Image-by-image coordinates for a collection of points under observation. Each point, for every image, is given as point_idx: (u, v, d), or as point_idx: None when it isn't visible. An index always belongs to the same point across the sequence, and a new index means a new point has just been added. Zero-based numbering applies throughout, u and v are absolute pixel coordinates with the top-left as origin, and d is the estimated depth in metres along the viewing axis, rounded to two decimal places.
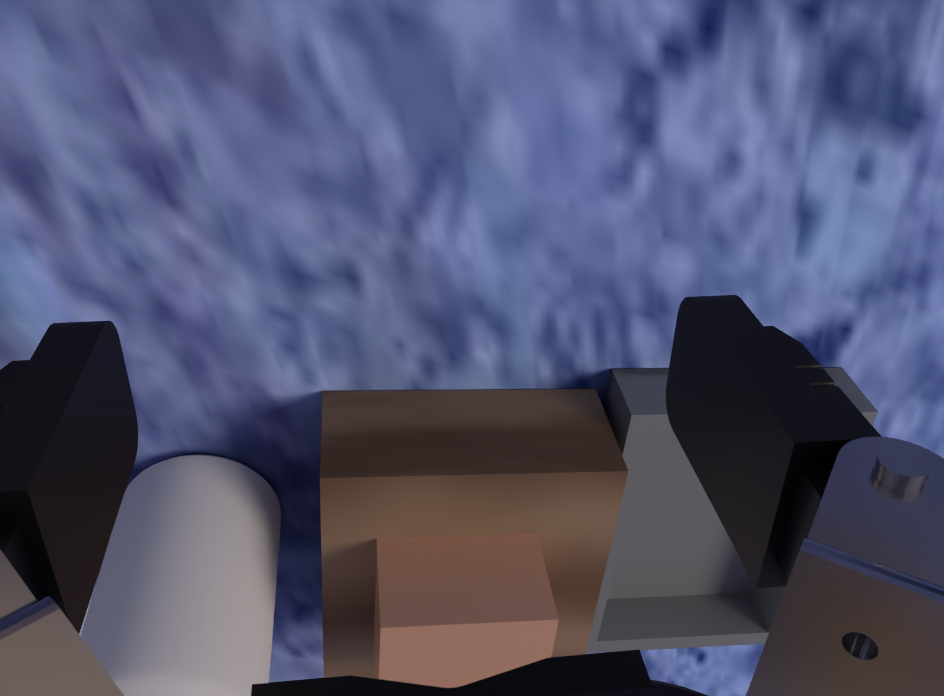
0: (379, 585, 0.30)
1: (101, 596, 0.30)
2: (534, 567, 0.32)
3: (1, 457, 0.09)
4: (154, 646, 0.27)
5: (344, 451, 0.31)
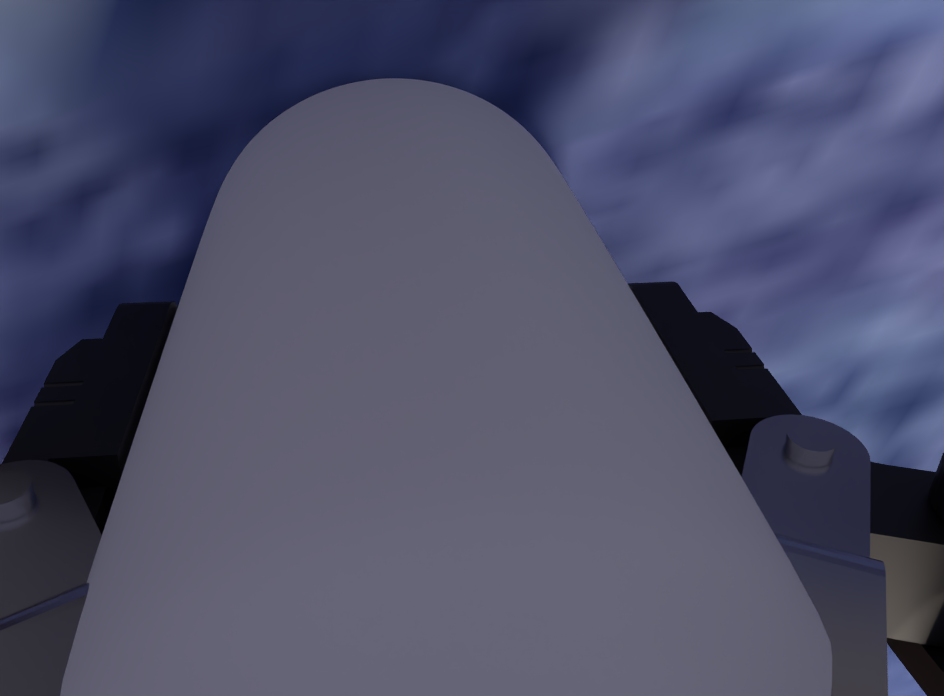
0: None
1: (626, 302, 0.09)
2: None
3: (89, 426, 0.09)
4: None
5: None
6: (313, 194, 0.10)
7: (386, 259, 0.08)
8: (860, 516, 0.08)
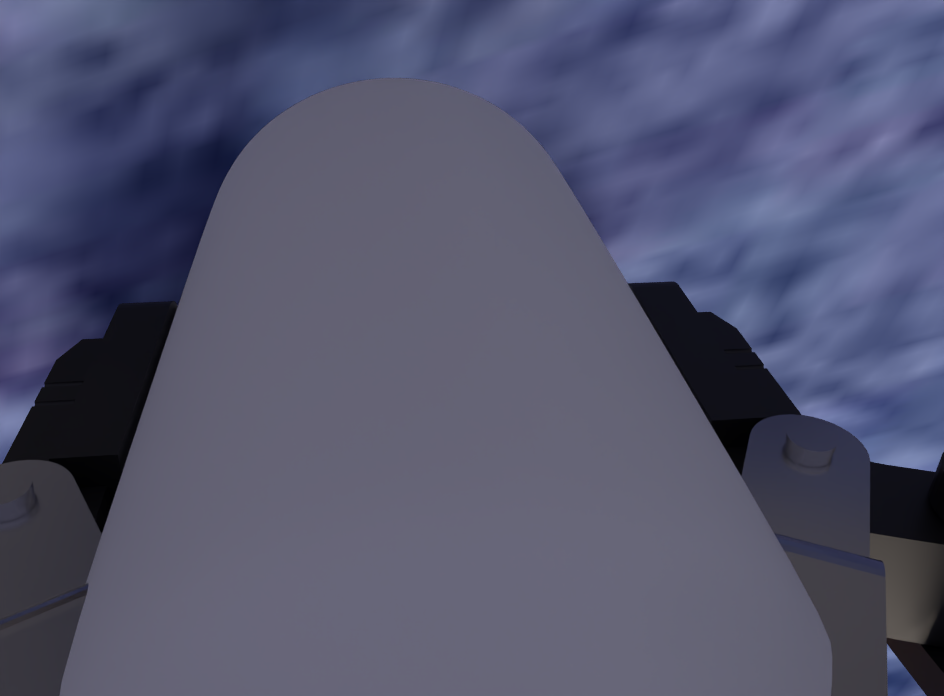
0: None
1: (626, 301, 0.09)
2: None
3: (88, 426, 0.09)
4: None
5: None
6: (312, 194, 0.10)
7: (386, 261, 0.08)
8: (860, 516, 0.08)
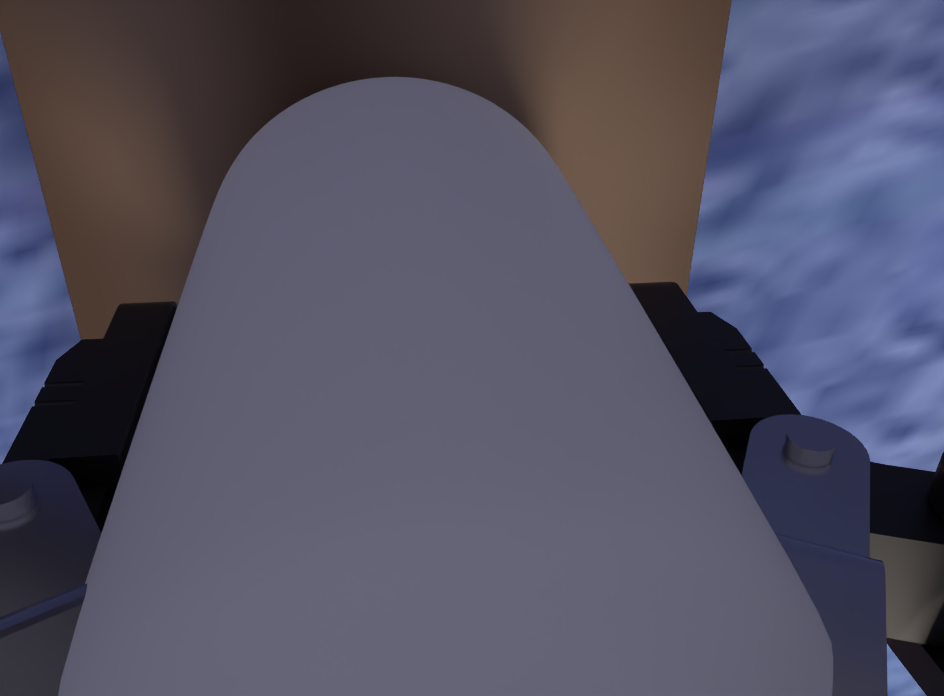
0: None
1: (626, 300, 0.09)
2: None
3: (89, 426, 0.09)
4: None
5: None
6: (312, 193, 0.10)
7: (384, 259, 0.08)
8: (860, 516, 0.08)
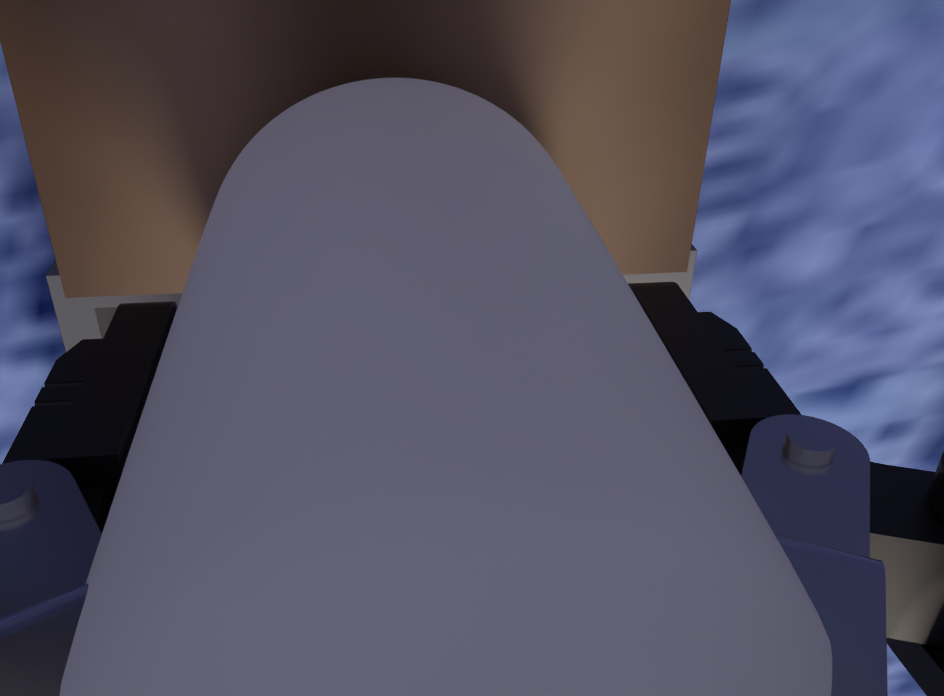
0: None
1: (627, 302, 0.09)
2: None
3: (89, 426, 0.09)
4: None
5: None
6: (312, 194, 0.10)
7: (385, 260, 0.08)
8: (859, 516, 0.08)
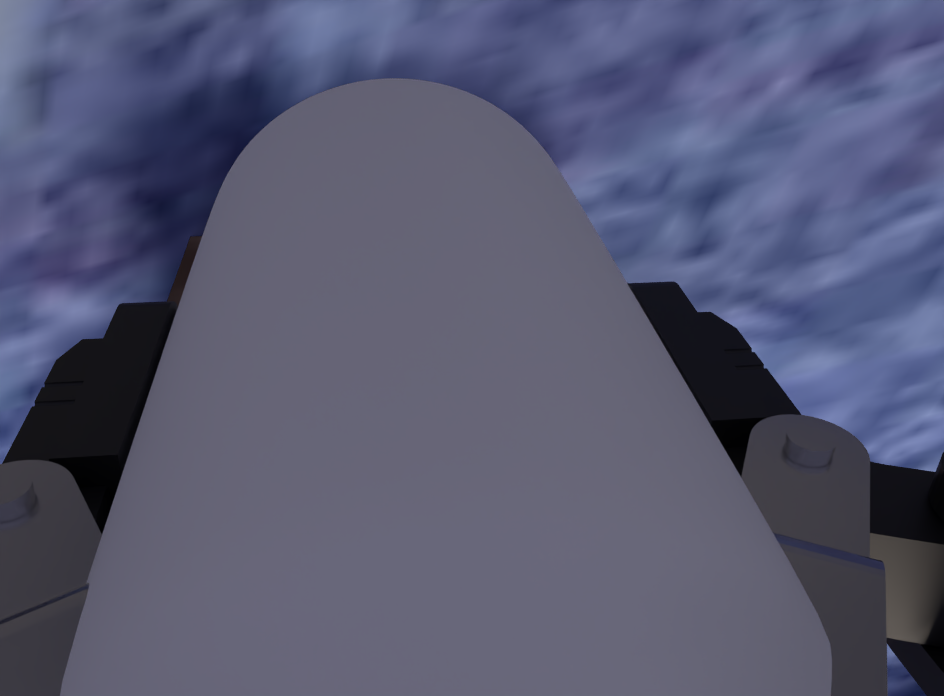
0: None
1: (626, 303, 0.09)
2: None
3: (89, 426, 0.09)
4: None
5: None
6: (312, 195, 0.10)
7: (384, 261, 0.08)
8: (859, 516, 0.08)
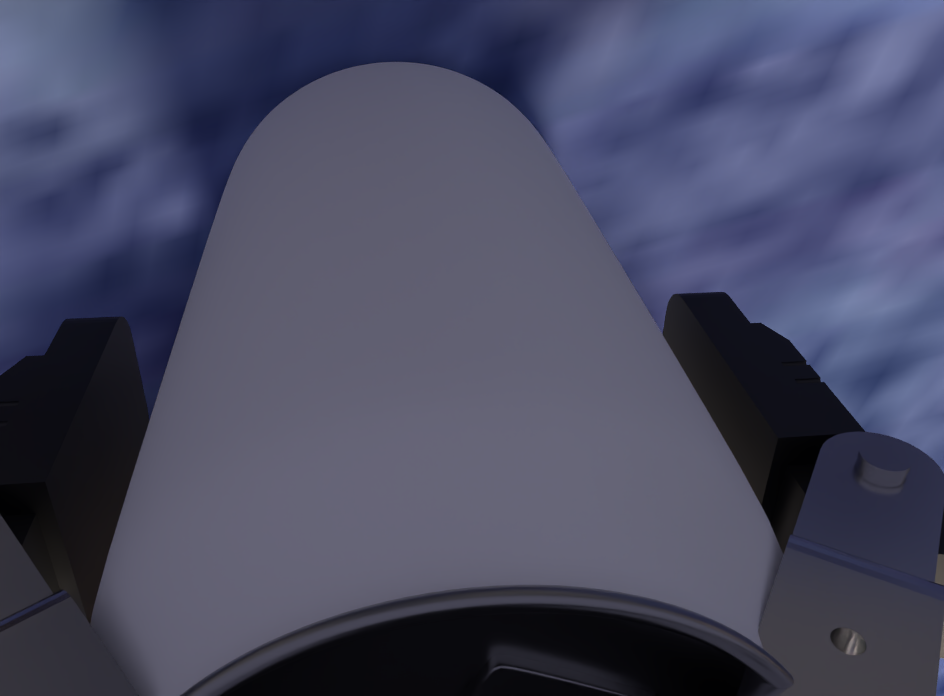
0: None
1: (605, 256, 0.10)
2: None
3: (19, 450, 0.09)
4: None
5: None
6: (321, 162, 0.11)
7: (388, 213, 0.09)
8: (928, 540, 0.08)
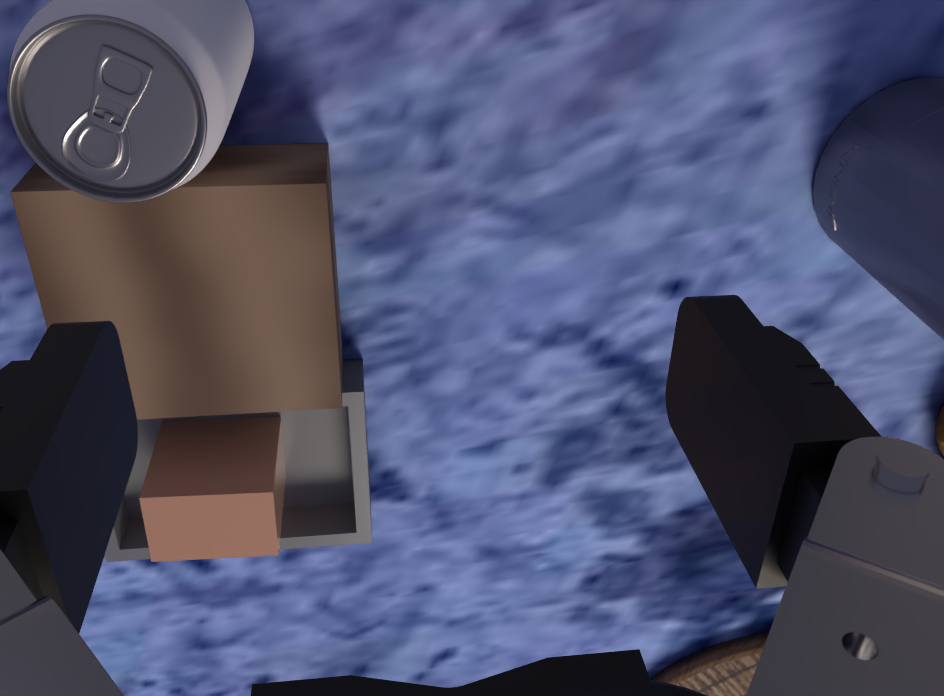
0: (275, 526, 0.42)
1: None
2: (282, 446, 0.47)
3: (1, 457, 0.09)
4: (230, 89, 0.28)
5: None
6: None
7: None
8: None
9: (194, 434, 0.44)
